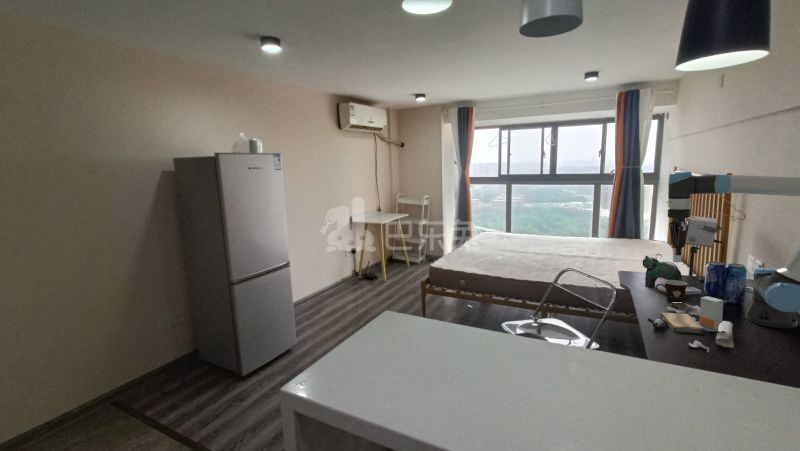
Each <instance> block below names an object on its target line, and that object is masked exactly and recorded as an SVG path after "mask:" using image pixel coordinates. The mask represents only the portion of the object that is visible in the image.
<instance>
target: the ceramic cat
mask: <svg viewBox="0 0 800 451" xmlns="http://www.w3.org/2000/svg"><path fill="white" fill-rule="evenodd" d="M658 255H659V256H660V257H663V256H662V254H660V253H657V254H656V255H655V257H649V256H648V255H645V257H644V259H643V260H642V266H643V268H645V269H646V272H645V276H644V277H645V278H644V280H645V281H644V282H645V284H644V286H645V287H646V288H656V282H657V280H658V279H663V280H665V281H667V280H677V281H682V282H684V281H683V276H682V272H681V270H680V269H679V267H678V266H677V264H675V263H674V262H670V261H667V262H666V261H660V260H658V258H657V256H658Z"/></svg>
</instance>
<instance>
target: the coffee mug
mask: <svg viewBox="0 0 800 451" xmlns="http://www.w3.org/2000/svg"><path fill="white" fill-rule="evenodd" d="M682 281H683V280H682ZM682 281H677V280H665V281H664V282H665V284H663V283H658V284H655V289H656V290H657V291H658V292H659V293H660V294H662V295H664V296H665V297H666V301H667V303H668V304H669V303H670V304H672V303H671V302H682V303H683V304H684V303H685V302H684V301H685V300H684V299H685V296H686V290H687V285H688V283H687V282H685V281H683V282H682ZM658 286H663V287H664V289H665V293H664V292H663V291H661V290H659V289H658Z"/></svg>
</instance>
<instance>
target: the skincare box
mask: <svg viewBox="0 0 800 451" xmlns="http://www.w3.org/2000/svg"><path fill="white" fill-rule="evenodd" d="M699 308H700V309H699V321H698V322H699V324H701V325H704V326H707V327H710V328H712V329H718V326H719V324H720V323H721V322H722V323H723V312H724V300H723V299H719V298H716V297H712V296H710V295H709V296H708V295H707V296H703V297H702V296H701V297H700V305H699Z"/></svg>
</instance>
